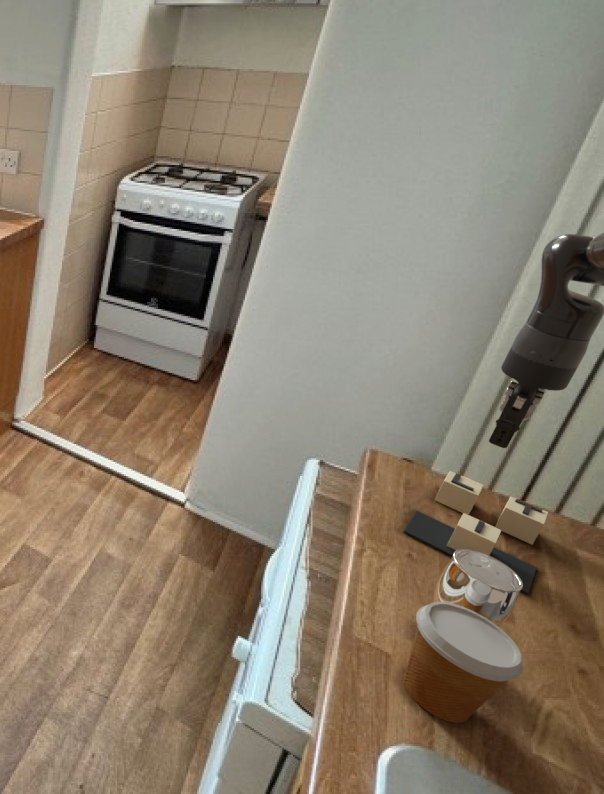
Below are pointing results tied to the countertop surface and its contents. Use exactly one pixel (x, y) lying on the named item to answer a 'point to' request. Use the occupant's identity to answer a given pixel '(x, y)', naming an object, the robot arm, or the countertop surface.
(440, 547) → the word mat
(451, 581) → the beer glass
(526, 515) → the tile
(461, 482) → the tile
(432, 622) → the disposable coffee cup
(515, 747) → the countertop surface
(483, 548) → the tile
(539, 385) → the robot arm
